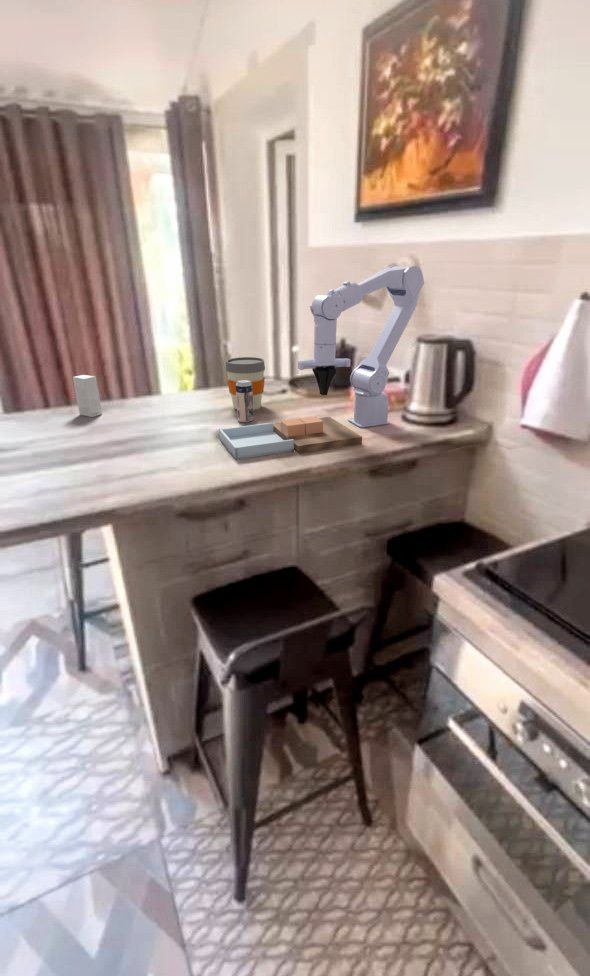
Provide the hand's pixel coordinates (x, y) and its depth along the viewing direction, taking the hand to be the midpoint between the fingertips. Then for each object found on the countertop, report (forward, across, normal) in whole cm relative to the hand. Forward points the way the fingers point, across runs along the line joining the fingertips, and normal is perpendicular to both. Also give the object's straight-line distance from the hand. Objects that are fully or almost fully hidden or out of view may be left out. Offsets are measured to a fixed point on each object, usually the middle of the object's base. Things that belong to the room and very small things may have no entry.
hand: (323, 394), depth 141 cm
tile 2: (+8, +5, +4) cm, 11 cm away
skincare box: (+12, +61, -42) cm, 75 cm away
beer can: (+11, +18, -17) cm, 27 cm away
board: (+10, +4, +4) cm, 12 cm away
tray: (+11, +21, +5) cm, 24 cm away
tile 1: (+9, +10, +4) cm, 14 cm away
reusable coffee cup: (+11, +13, -32) cm, 37 cm away
